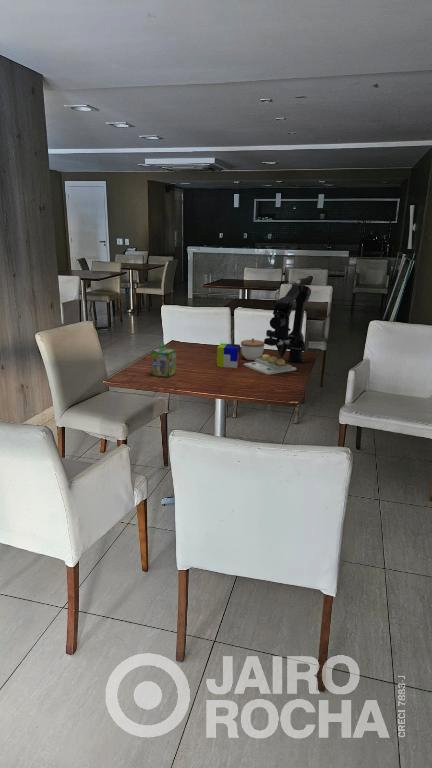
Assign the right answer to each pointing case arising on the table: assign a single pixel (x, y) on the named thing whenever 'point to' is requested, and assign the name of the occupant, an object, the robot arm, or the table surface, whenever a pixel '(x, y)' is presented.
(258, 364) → the board
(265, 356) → the button
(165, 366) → the green patterned box
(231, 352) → the puzzle toy
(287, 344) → the robot arm
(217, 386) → the table surface
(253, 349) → the lidded bowl
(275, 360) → the button mid
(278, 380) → the table surface
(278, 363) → the button
